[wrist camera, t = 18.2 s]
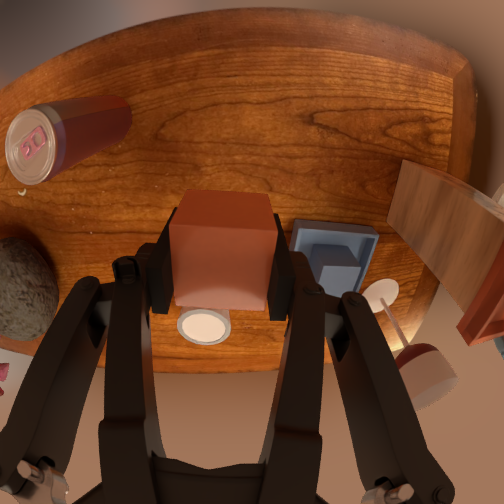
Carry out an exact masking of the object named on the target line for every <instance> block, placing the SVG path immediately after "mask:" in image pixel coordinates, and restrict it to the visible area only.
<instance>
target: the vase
mask: <svg viewBox="0 0 504 504" xmlns="http://www.w3.org/2000/svg"><path fill="white" fill-rule="evenodd" d="M58 302H59V289H58V285H57V282H56V278H55V276H54V275H53V273H52V271H51V269H50V268H49V266H48V264H47V263H46V261H45V260H44V259H43V257H42V256H41V255H40V253H39V252H38V251H37V250H36V249H35V248H34V247H32V246H31V245H30V244H29V243H27V242H26V241H25V240H22V239H18V238H14V237H8V238H4V239H1V240H0V334H1V335H4V336H6V337H8V338H11V339H14V340H21V341H32V340H34V339H36V338H38V337H39V336H41V335H42V334H43V333H45V332H46V330H47V329H48V328H49V327H50V325H51V323H52V321H53V318H54V316H55V313H56V310H57V306H58ZM0 338H1V336H0ZM8 369H9V363H0V381H4V380H6V377H7V373H8ZM3 394H4V391H3V390H2V389H1V387H0V396H2V395H3Z"/></svg>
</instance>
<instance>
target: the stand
mask: <svg viewBox="0 0 504 504" xmlns="http://www.w3.org/2000/svg"><path fill="white" fill-rule="evenodd" d="M386 222H387V223H388V224H389V225H390V226H391V227H392V228H393V229H394V230H395V231H396V232H397V233H398V234H399V235H400V236H401V237H402V239H403V240H404V241H405V242H406V243H407V244H408V245H409V246H410V247H411V248H412V249H413V251H414V252H415V253H416V254H417V255H418V256H419V257H420V258H421V260H422V261H423V262H424V263H425V264H426V265H427V267H428V268H429V269H430V270H431V271H432V272H433V274H434V275H435V276H436V277H437V279H438V280H439V281H440V282H441V283H442V285H443V286H444V287H445V288H446V290H447V291H448V292H449V294H450V295H451V296H452V297H453V299H454V300H455V301H456V303H457V304H458V305H459V307H460V308H461V309H462V311H463V312H464V316H463V317H462V319H461V320H460V322H459V324H458V325H457V326H456V327H457V329H458V331H459V332H460V334H461V335H462V337H463V339H464V340H465V342H466V343H467V345H468V346H472V345H476V344H479V343H482V342H485V341H488V340H492V339H495V338H498V337H500V336H503V335H504V208H503V207H502V206H501V205H499V204H498V203H496V202H495V201H493V200H492V199H490V198H489V197H487V196H486V195H484V194H483V193H481V192H479V191H478V190H476V189H475V188H473V187H471V186H469V185H468V184H466V183H465V182H463V181H461V180H459V179H458V178H456V177H454V176H452V175H451V174H449V173H446V172H443V171H440V170H437V169H434V168H431V167H428V166H425V165H421V164H418V163H415V162H411V161H408V160H404V159H403V161H402V165H401V169H400V173H399V177H398V181H397V185H396V188H395V192H394V196H393V199H392V203H391V206H390V210H389V213H388V216H387V219H386Z"/></svg>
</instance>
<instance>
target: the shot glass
mask: <svg viewBox="0 0 504 504" xmlns="http://www.w3.org/2000/svg"><path fill="white" fill-rule="evenodd" d="M177 328H178V330H179V332H180V334H181V335H182V336H183V337H184V338H186V339H187V340H188V341H191V342H193V343H196V344H201V345H212V344H217V343H220V342H222V341H224V340H225V339H226V338H227V337H228V336H229V334H230V330H231V324H230V316H229V309H213V308H198V307H185V306H182V309H181V312H180V315H179V318H178V321H177Z"/></svg>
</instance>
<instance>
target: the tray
mask: <svg viewBox="0 0 504 504" xmlns="http://www.w3.org/2000/svg"><path fill="white" fill-rule="evenodd" d="M378 238H379V234H378V233H377V232H376V231H375V230H374V229H373V227H371V226H362V225H353V224H343V223H333V222H322V221H311V220H300V219H295V221H294V226H293V231H292V237H291V242H290V247H289V251H299V252H302V253H303V254H304V255H305V256H306V257H307V259H308V262H309V260H310V256H311V252H312V248H313V244H326V245H341V246H348V247H349V249H350V250H351V252H352V253H353V255H354V256H355V258H356V260H357V261H358V263H359V264H360V266H361V269H360V272H359V275H358V277H357V280H356V283H355V285H354V288H353V291H354V292H357V293H358V292H359V290H360V287H361V285H362V282H363V280H364V277H365V274H366V272H367V269H368V266H369V264H370V261H371V258H372V255H373V253H374V250H375V247H376V244H377V241H378Z"/></svg>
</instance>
